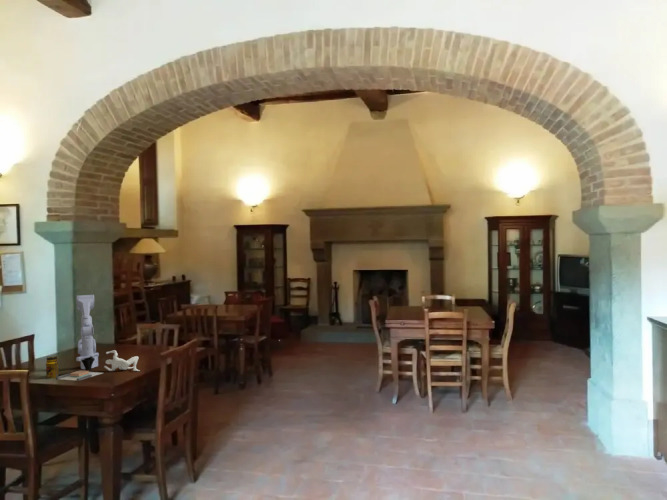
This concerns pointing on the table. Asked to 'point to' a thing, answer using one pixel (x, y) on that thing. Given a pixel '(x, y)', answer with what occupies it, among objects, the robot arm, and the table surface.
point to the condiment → (52, 367)
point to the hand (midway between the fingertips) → (88, 371)
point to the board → (68, 377)
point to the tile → (79, 373)
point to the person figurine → (121, 362)
